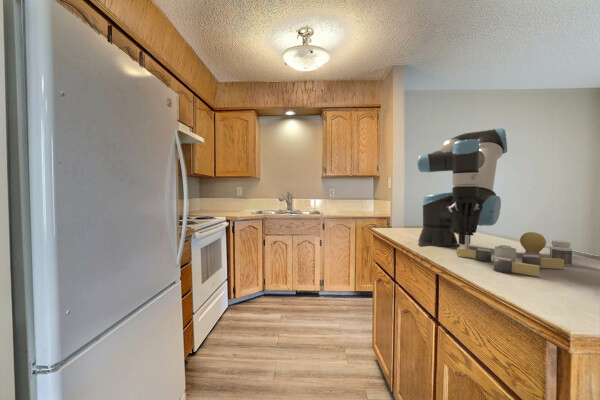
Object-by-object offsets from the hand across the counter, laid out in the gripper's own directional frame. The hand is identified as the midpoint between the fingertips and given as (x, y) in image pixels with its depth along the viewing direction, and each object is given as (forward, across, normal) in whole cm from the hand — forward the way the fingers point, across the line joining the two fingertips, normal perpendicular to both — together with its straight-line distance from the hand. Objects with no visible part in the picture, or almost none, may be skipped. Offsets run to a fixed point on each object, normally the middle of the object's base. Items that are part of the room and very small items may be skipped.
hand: (464, 253), depth 86 cm
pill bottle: (+3, +21, -14) cm, 26 cm away
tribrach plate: (+2, +2, -12) cm, 13 cm away
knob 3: (+1, +10, -17) cm, 19 cm away
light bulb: (+3, +20, -7) cm, 22 cm away
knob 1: (+1, 0, -4) cm, 4 cm away
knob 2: (+1, -2, -18) cm, 18 cm away
